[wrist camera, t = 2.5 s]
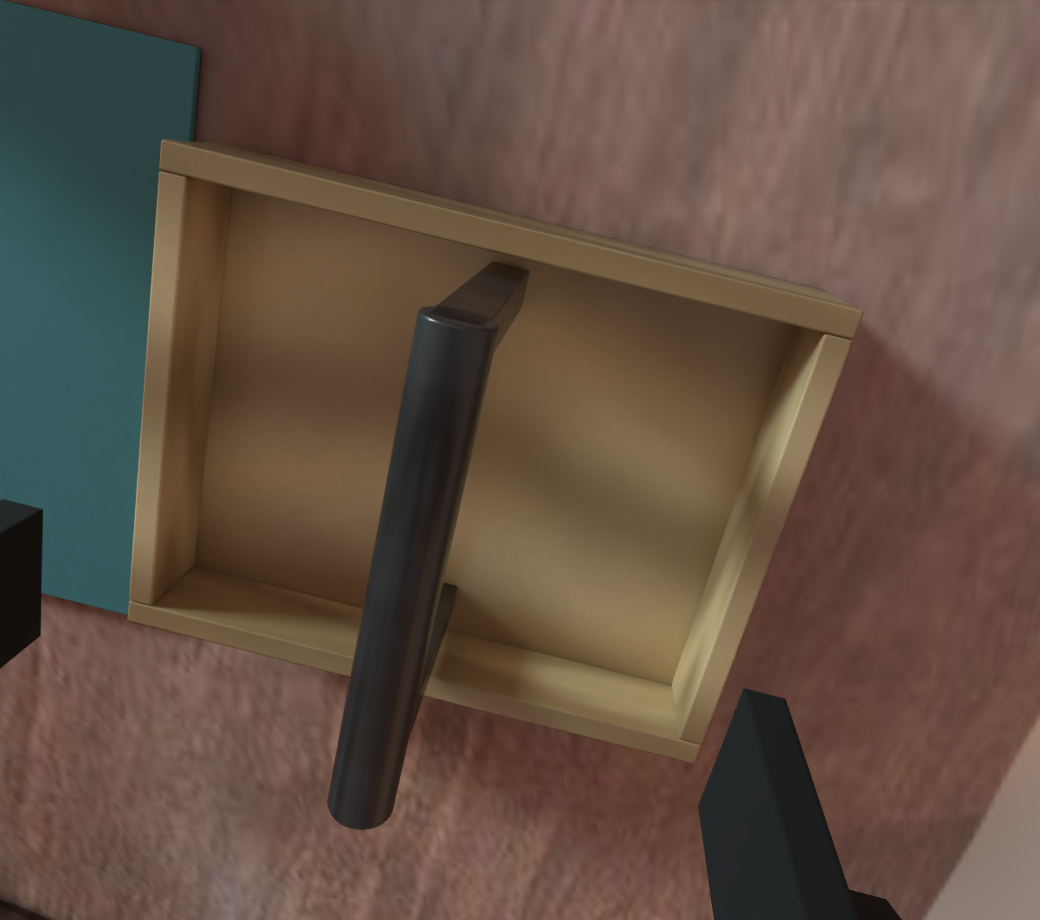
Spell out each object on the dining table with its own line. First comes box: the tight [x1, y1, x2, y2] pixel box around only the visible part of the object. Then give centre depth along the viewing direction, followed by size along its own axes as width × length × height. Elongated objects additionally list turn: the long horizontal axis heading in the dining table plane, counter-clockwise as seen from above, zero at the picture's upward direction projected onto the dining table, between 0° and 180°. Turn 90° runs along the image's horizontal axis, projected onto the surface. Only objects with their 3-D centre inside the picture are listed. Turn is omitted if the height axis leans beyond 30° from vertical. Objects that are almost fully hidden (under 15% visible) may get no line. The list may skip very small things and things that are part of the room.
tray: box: [128, 139, 863, 830], centre depth 22 cm, size 15×19×11 cm
